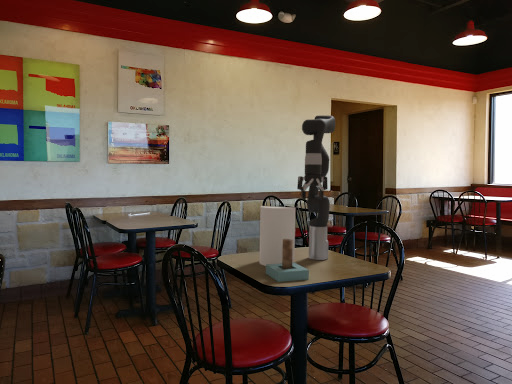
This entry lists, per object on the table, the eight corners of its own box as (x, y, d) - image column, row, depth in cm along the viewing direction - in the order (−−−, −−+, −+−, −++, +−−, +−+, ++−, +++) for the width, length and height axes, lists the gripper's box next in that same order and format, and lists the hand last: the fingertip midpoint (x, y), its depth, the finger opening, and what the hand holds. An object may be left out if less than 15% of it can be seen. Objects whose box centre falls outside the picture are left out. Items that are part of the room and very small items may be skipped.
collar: (294, 271, 180) (294, 262, 180) (308, 279, 167) (308, 270, 167) (265, 273, 176) (265, 264, 175) (278, 281, 162) (278, 272, 162)
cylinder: (292, 268, 186) (293, 209, 185) (256, 265, 189) (257, 207, 188) (295, 260, 203) (297, 206, 201) (262, 258, 206) (263, 204, 205)
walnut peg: (289, 274, 174) (290, 238, 173) (293, 277, 170) (294, 240, 169) (280, 275, 173) (281, 239, 172) (284, 278, 169) (285, 240, 168)
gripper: (322, 164, 186) (321, 198, 187) (295, 163, 181) (294, 198, 182) (331, 163, 179) (330, 199, 179) (302, 163, 174) (302, 200, 175)
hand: (312, 199), depth 181 cm, fingers open, 8 cm apart
